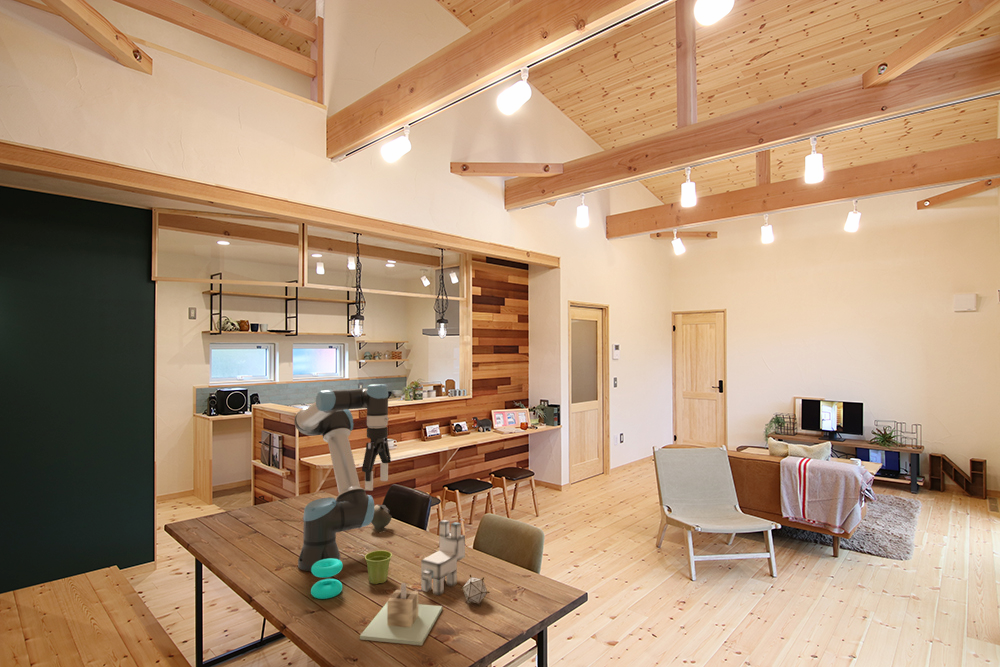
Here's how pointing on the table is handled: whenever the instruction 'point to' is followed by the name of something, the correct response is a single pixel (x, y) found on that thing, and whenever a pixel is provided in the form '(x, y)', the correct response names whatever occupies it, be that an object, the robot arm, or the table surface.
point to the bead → (402, 609)
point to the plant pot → (378, 565)
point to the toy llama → (443, 559)
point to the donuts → (326, 586)
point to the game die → (474, 590)
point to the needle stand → (402, 635)
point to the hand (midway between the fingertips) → (376, 485)
